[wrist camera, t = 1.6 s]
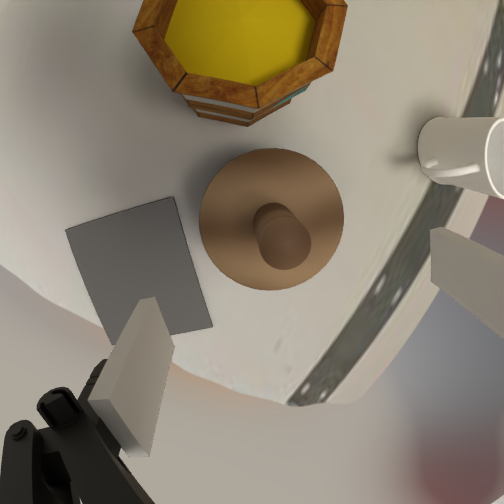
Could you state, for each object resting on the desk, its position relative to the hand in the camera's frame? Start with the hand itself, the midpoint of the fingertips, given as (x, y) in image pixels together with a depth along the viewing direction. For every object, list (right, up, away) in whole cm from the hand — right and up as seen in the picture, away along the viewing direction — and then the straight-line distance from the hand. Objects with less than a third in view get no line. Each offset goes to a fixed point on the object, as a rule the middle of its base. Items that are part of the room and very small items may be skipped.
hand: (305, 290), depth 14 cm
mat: (-16, -1, +22) cm, 27 cm away
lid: (-1, +4, +12) cm, 13 cm away
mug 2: (+20, +14, +19) cm, 31 cm away
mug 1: (-2, +23, +15) cm, 28 cm away
